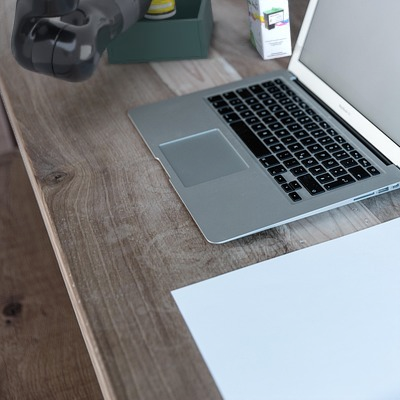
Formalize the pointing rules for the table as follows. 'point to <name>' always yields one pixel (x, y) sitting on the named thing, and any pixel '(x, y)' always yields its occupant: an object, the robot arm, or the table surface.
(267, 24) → the ink box
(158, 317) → the table surface
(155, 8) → the supplement bottle
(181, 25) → the bin
